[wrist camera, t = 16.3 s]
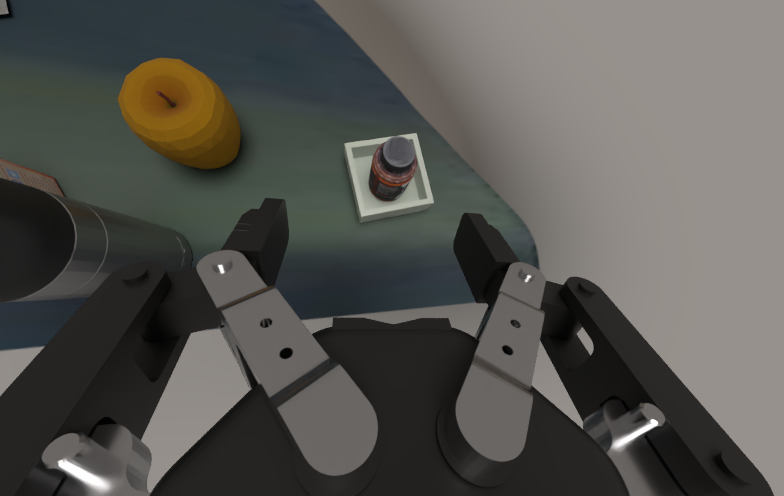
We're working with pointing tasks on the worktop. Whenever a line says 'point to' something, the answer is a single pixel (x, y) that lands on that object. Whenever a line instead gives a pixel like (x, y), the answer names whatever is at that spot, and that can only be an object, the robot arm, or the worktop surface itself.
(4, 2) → the white circle with bar
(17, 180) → the cracker box
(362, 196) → the box
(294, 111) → the worktop surface
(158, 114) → the apple
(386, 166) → the supplement bottle
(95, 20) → the worktop surface
